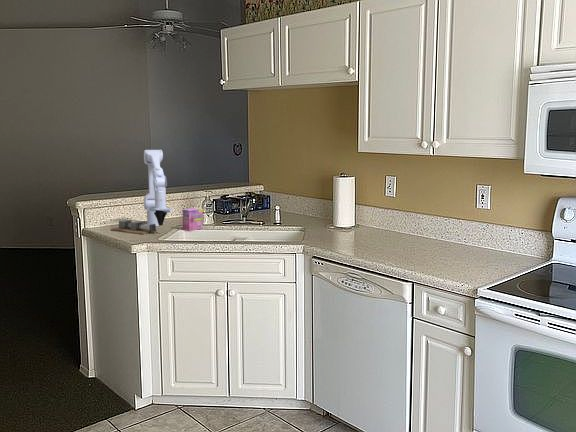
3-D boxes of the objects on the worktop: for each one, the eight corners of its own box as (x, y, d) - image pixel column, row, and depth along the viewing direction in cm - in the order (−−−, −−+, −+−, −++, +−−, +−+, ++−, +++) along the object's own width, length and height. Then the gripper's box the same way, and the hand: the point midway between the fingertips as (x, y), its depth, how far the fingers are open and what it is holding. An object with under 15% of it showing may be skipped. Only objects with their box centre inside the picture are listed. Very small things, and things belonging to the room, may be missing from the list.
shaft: (127, 226, 324) (127, 220, 324) (155, 230, 316) (155, 224, 315) (122, 228, 321) (122, 221, 320) (151, 231, 312) (151, 225, 312)
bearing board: (125, 226, 330) (125, 218, 329) (156, 230, 321) (156, 222, 320) (110, 230, 320) (110, 221, 319) (142, 234, 310) (142, 225, 309)
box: (189, 231, 321) (189, 210, 319) (182, 230, 325) (182, 209, 323) (203, 228, 330) (203, 208, 328) (196, 227, 333) (195, 207, 331)
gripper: (144, 199, 309) (145, 224, 311) (166, 201, 302) (167, 227, 305) (153, 197, 315) (153, 222, 317) (175, 200, 309) (175, 225, 311)
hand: (160, 224), depth 311 cm, fingers closed
